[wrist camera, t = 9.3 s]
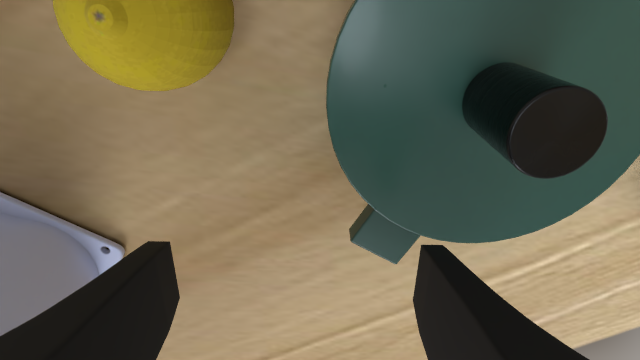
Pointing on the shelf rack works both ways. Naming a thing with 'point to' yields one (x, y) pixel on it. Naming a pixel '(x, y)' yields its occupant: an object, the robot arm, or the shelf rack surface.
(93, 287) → the robot arm
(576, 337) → the shelf rack surface
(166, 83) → the lemon
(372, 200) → the pot lid
